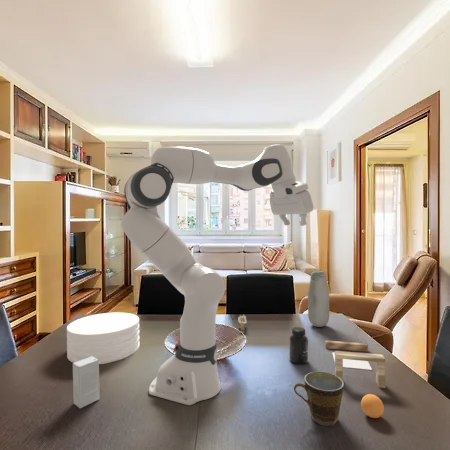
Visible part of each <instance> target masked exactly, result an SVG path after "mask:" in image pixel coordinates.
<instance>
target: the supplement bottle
mask: <svg viewBox="0 0 450 450" xmlns="http://www.w3.org/2000/svg"><path fill="white" fill-rule="evenodd" d="M291 328H292V329H291V335H290V337H289V349H288V350H289V351H288V352H289V361H290V362H291V363H292V364H295V365H305V364H307V363H308V362H309V339H308V337H307V336H306V328H304V327H299V326H295V327H291Z"/></svg>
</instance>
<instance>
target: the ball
mask: <svg viewBox="0 0 450 450" xmlns="http://www.w3.org/2000/svg"><path fill="white" fill-rule="evenodd" d="M360 406H361V409H362V411H363V413H364V414H365V415H366V416H367V417H369V418H371V419H378V418H380V417H382V415H384V412H385V411H384V410H385V405H384V403H383V400H381V399H380V397H378V395H376V394H373V393H368V394H367V393H366V394H365V395H364V396H363V397H362V399H361V401H360Z"/></svg>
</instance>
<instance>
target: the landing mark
mask: <svg viewBox="0 0 450 450" xmlns="http://www.w3.org/2000/svg"><path fill="white" fill-rule="evenodd" d="M332 357H333V361H334V362H335V351H334V352H333V351H332ZM345 368H346V369H353V370H356V369H357V370H368V371H372V370H373V368H372V367H371V365H370V363H369V361H361V360H349V359H343V369H345Z"/></svg>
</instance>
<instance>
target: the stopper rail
mask: <svg viewBox="0 0 450 450" xmlns="http://www.w3.org/2000/svg"><path fill="white" fill-rule="evenodd" d="M368 346H369V345H368V344H367V343H364V342H350V341H340V340H339V341H337V340H326V339H325V346H324V347H325V348H326V349H329V350H330V349H331V350H332V349H333V350H341V351H355V352H356V351H357V352H365V353H366V352H367V353H368V352H369V347H368Z"/></svg>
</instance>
